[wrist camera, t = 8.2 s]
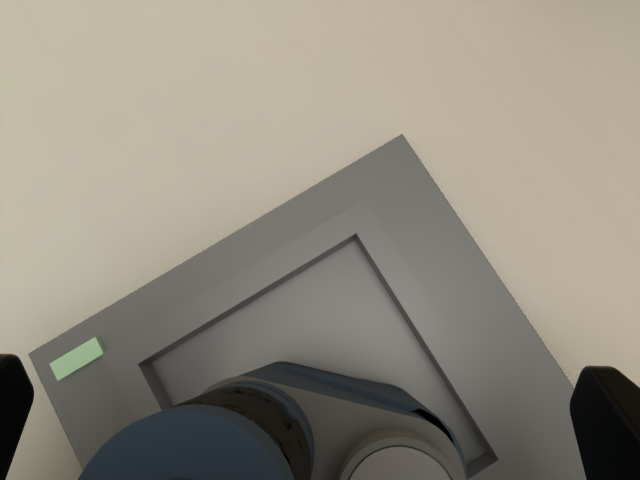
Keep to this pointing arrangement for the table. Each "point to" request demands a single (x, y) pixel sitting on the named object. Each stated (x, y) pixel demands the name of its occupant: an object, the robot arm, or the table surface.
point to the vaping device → (286, 433)
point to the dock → (332, 323)
